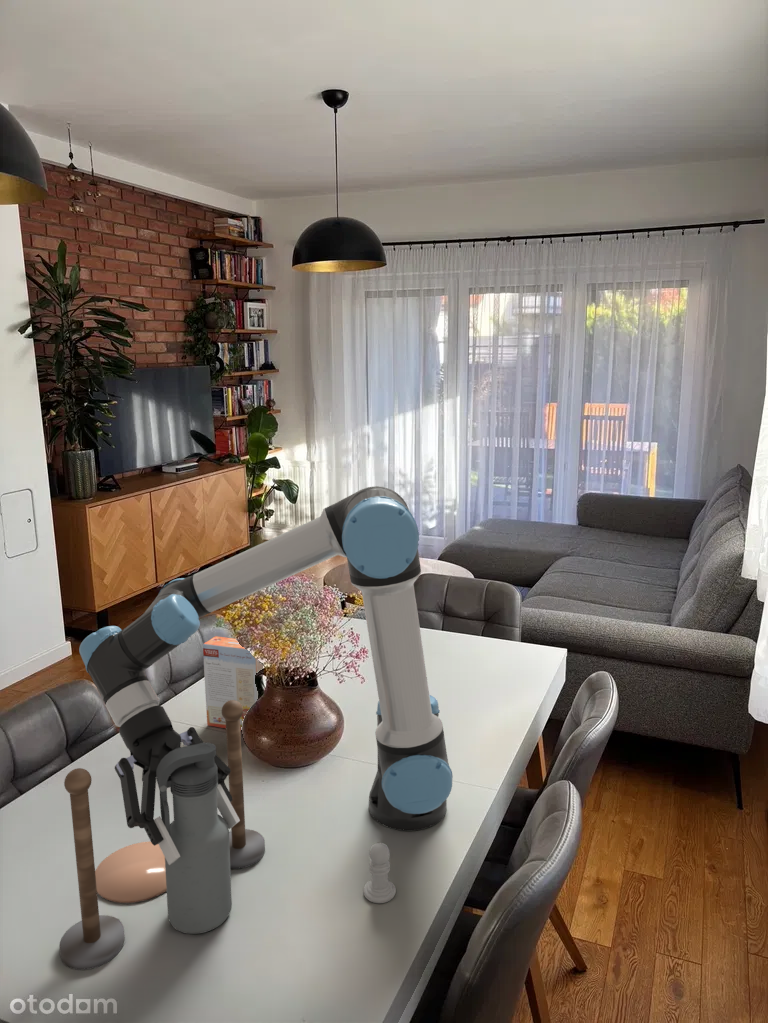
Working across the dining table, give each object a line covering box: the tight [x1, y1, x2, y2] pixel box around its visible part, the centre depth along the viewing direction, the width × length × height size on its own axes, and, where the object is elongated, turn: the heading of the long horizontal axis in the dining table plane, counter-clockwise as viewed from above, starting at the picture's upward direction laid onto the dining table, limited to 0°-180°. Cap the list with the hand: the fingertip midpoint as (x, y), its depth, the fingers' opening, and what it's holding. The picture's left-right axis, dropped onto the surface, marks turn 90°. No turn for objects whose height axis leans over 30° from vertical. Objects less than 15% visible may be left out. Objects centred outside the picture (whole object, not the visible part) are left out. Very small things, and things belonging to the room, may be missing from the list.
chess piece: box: [362, 842, 397, 904], centre depth 123 cm, size 5×5×9 cm
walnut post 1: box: [59, 767, 126, 971], centre depth 110 cm, size 9×9×29 cm
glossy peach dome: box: [95, 840, 167, 904], centre depth 129 cm, size 15×15×1 cm
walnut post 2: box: [222, 700, 266, 870], centre depth 131 cm, size 9×9×29 cm
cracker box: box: [202, 635, 263, 732], centre depth 179 cm, size 14×6×21 cm, turn 71°
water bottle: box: [156, 742, 233, 935], centre depth 116 cm, size 10×10×28 cm
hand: (205, 842), depth 114 cm, fingers closed on water bottle, 10 cm apart
